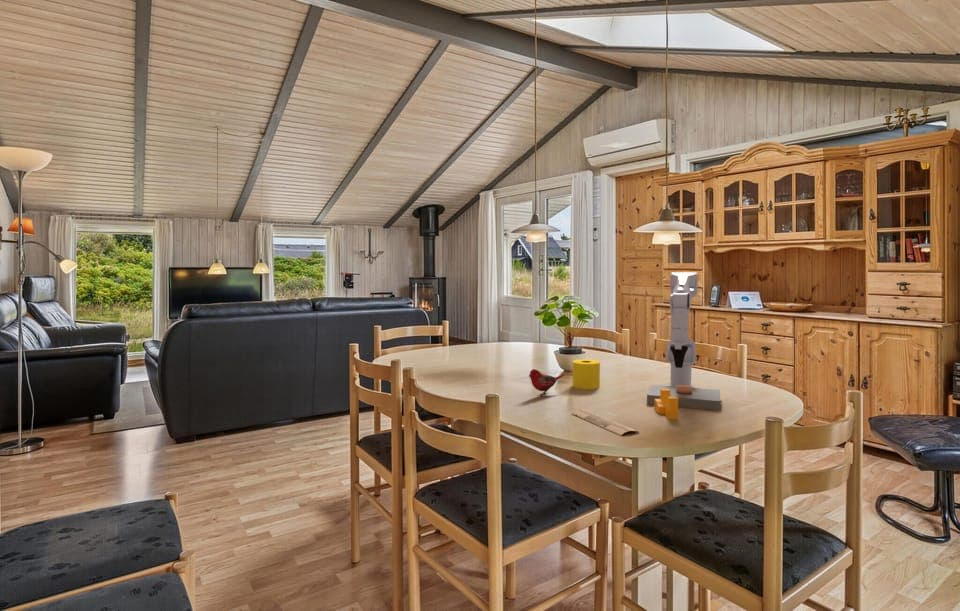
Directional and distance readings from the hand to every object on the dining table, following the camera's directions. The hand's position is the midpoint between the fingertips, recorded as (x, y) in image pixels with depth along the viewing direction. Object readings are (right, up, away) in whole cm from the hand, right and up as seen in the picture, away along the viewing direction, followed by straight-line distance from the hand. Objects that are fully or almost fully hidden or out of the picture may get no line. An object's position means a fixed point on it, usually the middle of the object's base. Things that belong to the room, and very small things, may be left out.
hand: (678, 367), depth 183 cm
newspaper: (-33, -14, -28) cm, 45 cm away
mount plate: (0, -11, -4) cm, 12 cm away
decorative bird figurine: (-44, -11, +6) cm, 46 cm away
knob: (0, -10, -4) cm, 11 cm away
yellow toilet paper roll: (-28, -10, +19) cm, 35 cm away
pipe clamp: (-11, -12, -19) cm, 25 cm away
